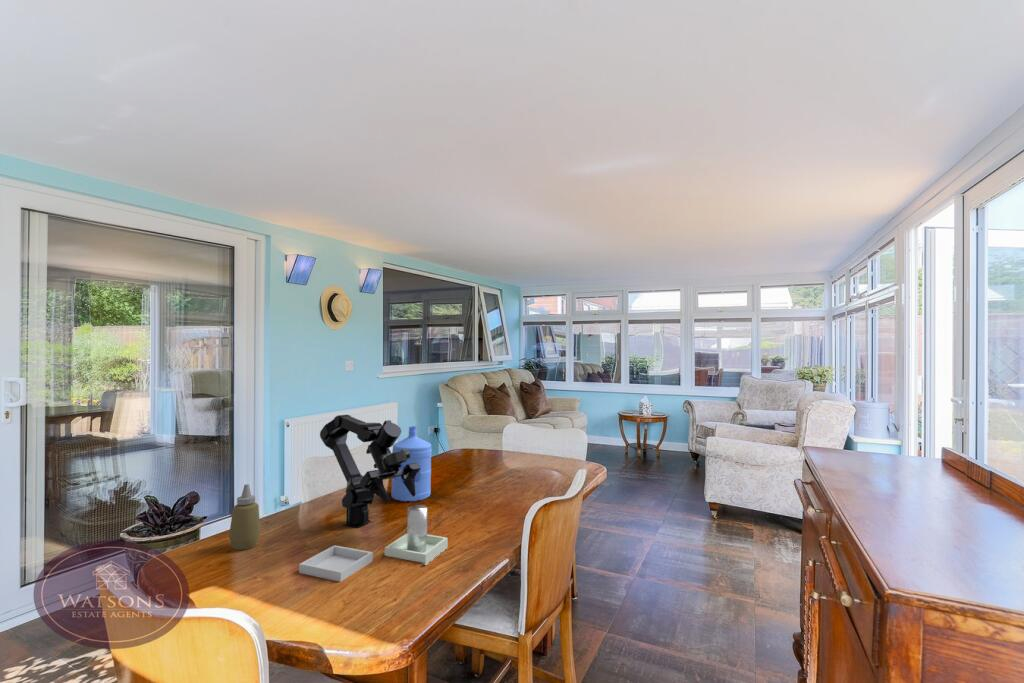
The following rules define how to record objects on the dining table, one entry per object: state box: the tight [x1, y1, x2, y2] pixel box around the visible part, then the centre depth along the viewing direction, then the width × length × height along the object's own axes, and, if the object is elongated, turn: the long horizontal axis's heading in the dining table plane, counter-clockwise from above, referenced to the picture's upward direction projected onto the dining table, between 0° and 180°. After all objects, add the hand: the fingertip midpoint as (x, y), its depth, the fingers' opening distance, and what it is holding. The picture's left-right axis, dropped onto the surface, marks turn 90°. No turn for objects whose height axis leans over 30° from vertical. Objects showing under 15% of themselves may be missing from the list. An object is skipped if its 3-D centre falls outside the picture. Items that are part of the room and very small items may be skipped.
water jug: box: [390, 425, 433, 502], centre depth 191 cm, size 16×16×28 cm
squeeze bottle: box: [228, 483, 261, 551], centre depth 138 cm, size 8×8×18 cm
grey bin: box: [298, 544, 374, 582], centre depth 124 cm, size 13×13×3 cm
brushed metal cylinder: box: [406, 504, 428, 553], centre depth 136 cm, size 6×6×12 cm
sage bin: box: [384, 533, 449, 566], centre depth 136 cm, size 13×13×3 cm
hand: (401, 498), depth 142 cm, fingers open, 9 cm apart
